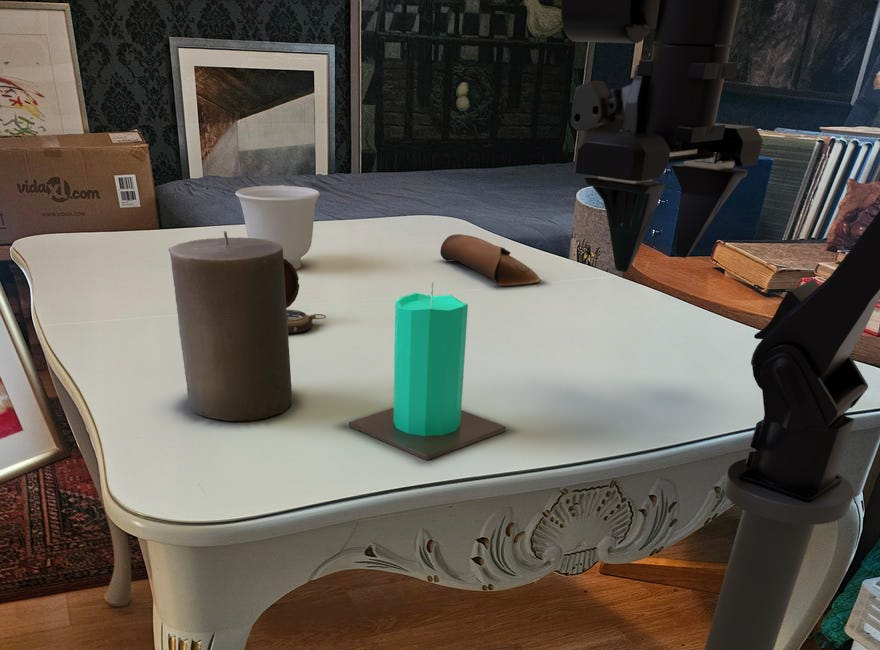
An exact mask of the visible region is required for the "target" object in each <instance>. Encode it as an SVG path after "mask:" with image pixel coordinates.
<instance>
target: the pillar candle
mask: <svg viewBox="0 0 880 650" xmlns="http://www.w3.org/2000/svg"><path fill="white" fill-rule="evenodd" d="M167 250H168V252H169V256H170V261H171V271H172V279H173V286H174V296H175V303H176V313H177V321H178V323H177V324H178V329H179V330H178V332H179V338H180V346H181V352H182V360H183V369H184V375H185V383H186V394H187V398H188V399H187V400H188V405H189V408H190V409H191V411H193V412H194V413H196V415H199V416H201V417H205V418H209V419H216V420H221V421H226V422H228V421H229V422H246V421H249V422H251V421H255V420H261V419H266V418H269V417H272V416H275V415H279V414H283V413H285V412H286V411H287V410H288V409H289V408H290V407H291V406H292V403H293V391H292V386H293V385H292V374H291V358H290V357H291V355H290V346H289V345H290V341H289V340H290V339H289V333H288V325H287V310H288V309H287V308H286V292H285V276H284V261H283V248H282V246H281V245H280V244H278V243H276V242H274V241H269V240H264V239H257V238H248V237H241V236H240V237H228V232H227V231H226V230H224V231H223V237H217V238H216V237H214V238H213V237H212V238H202V239H193V240H189V241H185V242H181V243H178V244H175V245H173V246H170V247H168V248H167Z"/></svg>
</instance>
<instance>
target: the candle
mask: <svg viewBox="0 0 880 650" xmlns="http://www.w3.org/2000/svg"><path fill="white" fill-rule="evenodd" d="M430 283H431V285H430V295H428V294H425V293H424V294H423V293H419V292H413V293H410V294H406V295H402V296H401V297H400V298H398V299H397V300H395V303H394V304H395V305H394V357H393V359H394V360H393V361H394V366H393V367H394V368H393V371H394V372H393V408H394V417H393V422H394V424H395V426H396V428H397V429H399V430H401V431H404V432H406V433H408V434H414V435H421V436H438V435H445V434H448V433H451V432H454V431H456V430H457V428H458V427H459V426H460V422H461V410H462V405H463V402H462V401H463V390H464V389H463V388H464V373H465V356H466V341H467V340H466V339H467V326H468V325H467V324H468V312H469V311H468V309H469V303H468V302H463V301H461V300H460V299H458V298H457V297H455V296H453V295H452V294H445V295H434V281H431V282H430Z"/></svg>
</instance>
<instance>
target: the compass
mask: <svg viewBox="0 0 880 650" xmlns="http://www.w3.org/2000/svg"><path fill="white" fill-rule="evenodd" d="M283 261H284V276H285V292H286V310H287V325H288V334H295V333H296V334H297V333H301V332H305V331H308V330H309V329H310V328H312V326H313V320H323V319H326V318H327V316H326V315H325V314H323V313H313V314H310V315H308V314H306V312H305V311H302V310H299V309H288V308H289V307H291V306H292V305H293V303H294V302H295V301H296V299H297V297H298V295H299V292H300V283H299V280H300V278H299V275H298V271H297V269H295V268H294V267H293V265H292V264H291V263H290V262H288V261H287V260H286V259H284V258H283ZM317 316H320V317H317ZM321 316H322V317H321Z"/></svg>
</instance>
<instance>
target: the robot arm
mask: <svg viewBox="0 0 880 650" xmlns="http://www.w3.org/2000/svg"><path fill="white" fill-rule="evenodd" d="M560 3H561V4H560V13H561V22H562V28H563V30H564V32H565V35H566V36H567V38H568V39H569V40H570V41H572V42H575V43H576V42H581V43H608V44H609V43H611V44H613V43H614V44H639V43H641V42H642V41H644V40H645V38H646V37H647V36H648V34H649V33H650V31H651V29H654V37H653V44H652V50H651V57H650V59H639V61H638V64H637V65H636V66H635V69H634V71H633V72H634V73H633V80H632V82H631V84H628V85H626V86H623V87H619V88H618V87H617V88H612V89H610V90H609V88H608V86H607V85H606V83H605V82H604V81H602V80H591V81H590V80H589V81H587V82H584V83H581V84H580V85H578V86H576V87H575V92H574V96H573V102H572V107H571V117H570V126H571V127H572V128H574V129H575V130H576V131H577V132H582V139H581V140H580V141H579V142H578V143H577V144H576V149H575V150H576V151H575V159H574V168H573V172H574V174H578V175H579V174H580V175H585V176H583V177H582V180H583V182H584V184H585V185H586V186H590V187H592V188H593V190H594V191H595V192H596V193H597V194H598V196H599V197H600V198H601V200H602V202H603V204H604V209H605V213H606V217H607V223H608V228H609V230H608V231H609V236H610V242H611V249H612V254H613V255H612V257H613V262H614V267H615V271H617V272H621V273H628V272H629V271H630V269H631V267H632V265H633V263H634V261H635V259H636V257H637V255H638V252H639V250H640V247H641V245H642V243H643V241H644V238H645V235H646V232H647V230H648V228H649V225H650V223H651V220H652V218H653V215H654V213H655V211H656V209H657V206H658V204H659V202H660V199H661V196H662V194H663V192H664V190H665V186H666V182H663V181H662V182H661V181H653V180H659V179H661V178H662V177H663V174H664V173H665V172H666V170H667V168H668V167H669V164H672V165H671V166H670V167H671V170H672V173H673V175H674V176H675V179H676V180H677V183H678V184H679V188H680V195H679V196H680V197H679V207H678V216H677V226H676V234H675V250H674V251H675V253H674V254H675V256H676V257H677V258H683V259H685V258H688V257H689V256H690V255H691V254H692V251H693V250H694V249H695V247H696V245H697V244H698V242H699V241H700V240H701V238H702V236H703V234H704V233H705V232H706V230H707V229H708V228H709V226H710V224H711V222H712V221H713V220H714V218H715V217H716V215H717V214H718V212H719V211H720V209H721V208H722V206H723V205H724V204H725V202H726V201H727V200H728V198H729V197H730V195H731V194H732V193H733V191H734V190H735V188H736V187H737V186H738V185H739V183H740V182H741V180H742V179H743V178H746V177H747V175H748V172H749V170H747V169H742V168H734V167H735V166H736V167H744V168H745V167H750V166H751V167H752V166H757V165H758V163H759V160H760V159H759V158H760V156H761V155H760V154H761V150H762V146H763V142H764V141H763V140H764V139H763V138H762V135H761V134H760V132H759V131H758V128H757V127H756V126H753V125H743V124H742V125H741V124H740V125H739V124H729V123H719V122H718V123H717V122H716V120H717V117H718V111H719V105H720V100H721V96H722V90H723V85H724V81H725V79H736V76H737V70H738V66H739V62H729V56H730V51H731V45H732V42H733V41H732V40H733V35H734V32H735V31H734V30H735V26H736V25H735V24H736V19H737V15H738V10H739V5H740V0H561V1H560ZM680 162H683V163H680ZM673 163H678V164H673ZM879 301H880V210H878V212H877V213H876V215H875V216H874V217H873V219H872V220H871V221H870V223H869V224H868V226H867V227H866V228H865V229H864V231H863V232H862V234H861V235H859V237H858V238H857V240H856V241H855V243H854V244H853V245H852V247H851V248H850V249H849V250H848V252H847V253H846V255H845V256H844V258H843V259H842V260H841V261H840V262H839V264H838V265H837V267H836V268H835V269H834V270H833V271H832V273H831V274H830V275H829V277H827V278H826V280H825V281H823V282H822V283H821V284H819V283H818V282H817V281H816V280H815V279H809V281H806V282H805V283H802V284H801V285H798V286H796V287H795V288H793V289H791V290H789V291H787V292H786V293H785V295H784V297H783V298H782V299H781V301H780V303H779V305H778V307H777V309H776V311H775V312H774V315H773V316H772V318H771V320H770V321H769V322H768V323H767V324H766V326H764V327H763V329H761V330H759V331H758V332H757V333H754V336H753V337H754V339H756V340H761V341H759V343H758V344H757V345H756V347H755V348H754V351H753V353H752V356H751V361H750V365H751V369H752V376H753V379H754V380H755V382H756V385H757V386H758V388H759V389H761V392H762V403H763V412H764V415H763V419H761V420H759V421H757V422H756V424H755V426H754V431H753V434H752V438H751V443H750V449H751V448H752V449H754V451H749V452H747V457H746V459H747V460H746V466H747V467H749V469H747V470H745V471H744V472H742V473H740V477H739V479H740V480H742V481H745V482H748V483H751V484H754V485H756V486H759V487H762V488H765V489H768V490H771V491H774V492H777V493H779V494H782V495H785V496H788V497H791V498H794V499H797V500H799V501H802V502H807V503H810V502H812V501H814V500H815V499H817V498H818V497H820V496H821V495H823V494H825V493H826V492H828V491H829V490H831V489H832V488H834V487H835V486H837V485H838V484H840V483H841V480H842V477H843V476H842V477H840V476H837V475H836V474H838V470H839V467H840V464H841V461H842V459H843V457H844V453H845V450H846V446H847V444H848V441H849V438H850V435H851V433H852V429H853V426H854V422H855V420H856V419H855V418H853V417H850V416H847V415H845V413H846V412H848V411H849V409H852V408H853V407H855V405H856V404H857V403H858V402H859V400H860V399H861V398H862V397H863V396H864V394H865V393H866V392H867V390H868V389H869V384H868V382H867V381H866V379H865V377H864V376H863V375H862V372H861V370H860V369H859V367H858V365H857V364H856V363H855V361H854V360H853V357H852V356H851V354H852V352H853V350H854V349H855V347H856V346H857V344H858V342H859V340H860V339H861V337H862V335H863V334H864V332H865V330H866V328H867V326H868V324H869V321H870V319H871V317H872V315H873V313H874V312H875V309H876V307H877V305H878V302H879Z"/></svg>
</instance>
